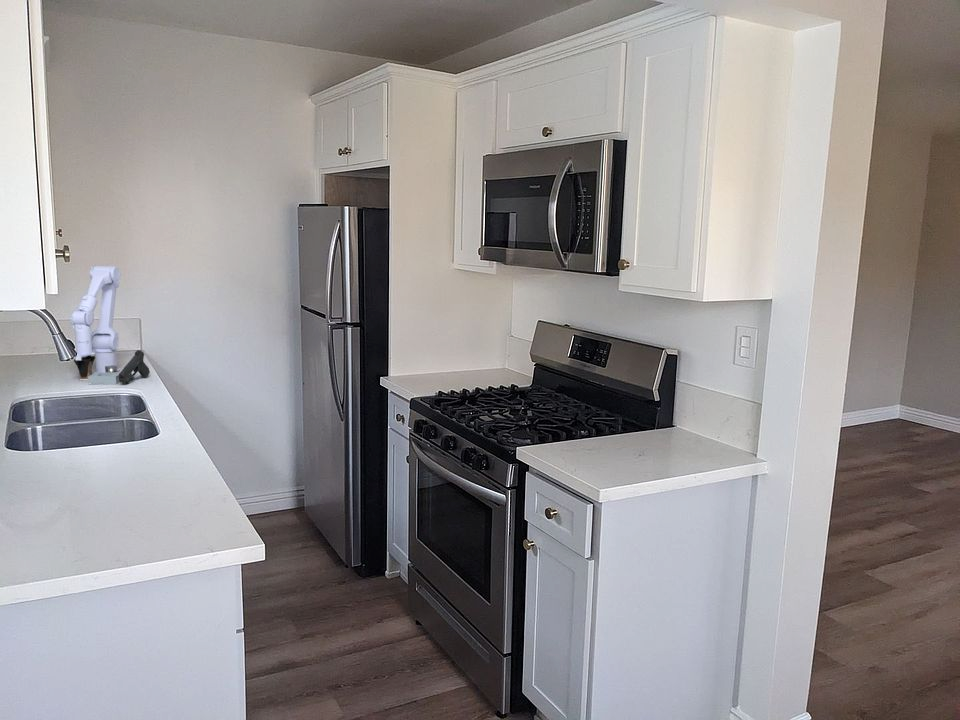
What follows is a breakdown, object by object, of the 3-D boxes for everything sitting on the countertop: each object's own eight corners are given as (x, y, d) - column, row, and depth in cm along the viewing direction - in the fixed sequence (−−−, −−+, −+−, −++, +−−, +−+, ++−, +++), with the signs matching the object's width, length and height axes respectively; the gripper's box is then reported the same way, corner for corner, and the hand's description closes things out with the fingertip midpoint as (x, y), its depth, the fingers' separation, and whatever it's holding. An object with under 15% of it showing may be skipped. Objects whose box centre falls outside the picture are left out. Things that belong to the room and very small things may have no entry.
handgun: (151, 372, 307) (142, 348, 300) (130, 398, 293) (121, 372, 286) (145, 372, 307) (137, 347, 300) (125, 398, 293) (116, 372, 286)
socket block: (96, 380, 298) (95, 372, 297) (123, 379, 299) (122, 372, 299) (88, 384, 289) (87, 376, 288) (116, 384, 290) (115, 376, 290)
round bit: (107, 377, 303) (106, 365, 302) (119, 377, 304) (118, 365, 303) (104, 379, 299) (103, 367, 298) (116, 379, 299) (115, 367, 299)
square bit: (82, 378, 299) (81, 361, 298) (92, 378, 300) (91, 361, 299) (79, 380, 296) (78, 363, 295) (89, 380, 296) (88, 362, 295)
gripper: (88, 344, 289) (90, 378, 291) (100, 338, 303) (102, 372, 305) (68, 344, 288) (70, 379, 290) (81, 339, 302) (83, 372, 304)
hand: (85, 375), depth 298 cm, fingers closed on square bit, 4 cm apart
